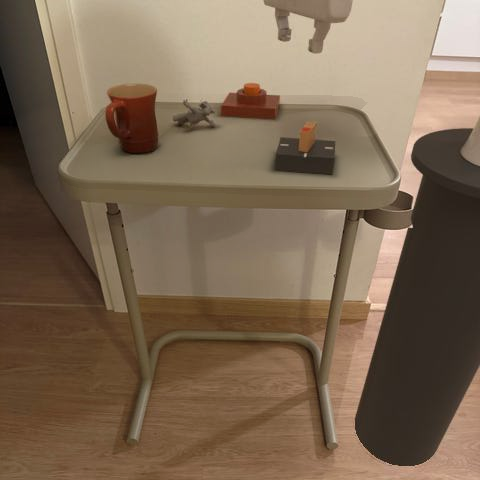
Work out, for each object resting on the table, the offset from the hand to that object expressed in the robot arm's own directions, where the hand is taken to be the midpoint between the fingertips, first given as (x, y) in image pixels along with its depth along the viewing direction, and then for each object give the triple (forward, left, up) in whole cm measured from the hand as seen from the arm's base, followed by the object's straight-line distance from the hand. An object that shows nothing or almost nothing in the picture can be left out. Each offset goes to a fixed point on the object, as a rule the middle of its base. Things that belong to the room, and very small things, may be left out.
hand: (298, 46), depth 77 cm
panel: (-3, +6, -17) cm, 19 cm away
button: (+11, -22, -14) cm, 29 cm away
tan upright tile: (-3, +6, -14) cm, 16 cm away
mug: (+29, +6, -18) cm, 34 cm away
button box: (+11, -22, -17) cm, 30 cm away
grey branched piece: (+21, -7, -18) cm, 28 cm away
